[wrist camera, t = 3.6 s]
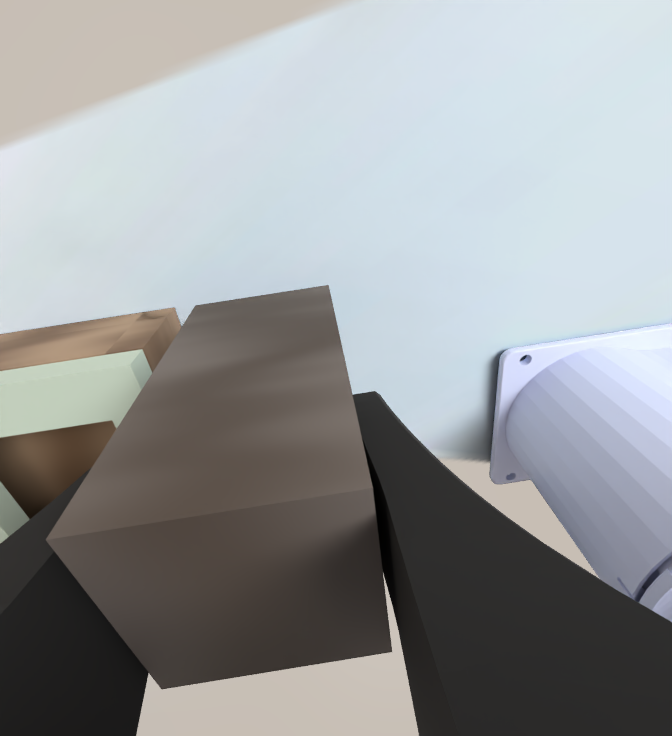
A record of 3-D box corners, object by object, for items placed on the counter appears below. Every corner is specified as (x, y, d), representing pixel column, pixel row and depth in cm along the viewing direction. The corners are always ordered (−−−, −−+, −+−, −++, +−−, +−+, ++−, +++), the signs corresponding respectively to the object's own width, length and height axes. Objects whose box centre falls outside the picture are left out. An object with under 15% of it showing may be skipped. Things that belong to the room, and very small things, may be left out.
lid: (142, 349, 12) (89, 417, 9) (259, 625, 20) (252, 711, 17) (-247, 409, 12) (-431, 498, 9) (26, 662, 20) (-23, 755, 17)
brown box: (174, 307, 15) (143, 347, 12) (265, 561, 23) (260, 623, 20) (-135, 355, 15) (-244, 407, 12) (63, 593, 23) (27, 660, 20)
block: (328, 285, 12) (373, 487, 5) (344, 395, 14) (392, 652, 7) (195, 305, 12) (46, 539, 5) (230, 413, 14) (161, 689, 7)
